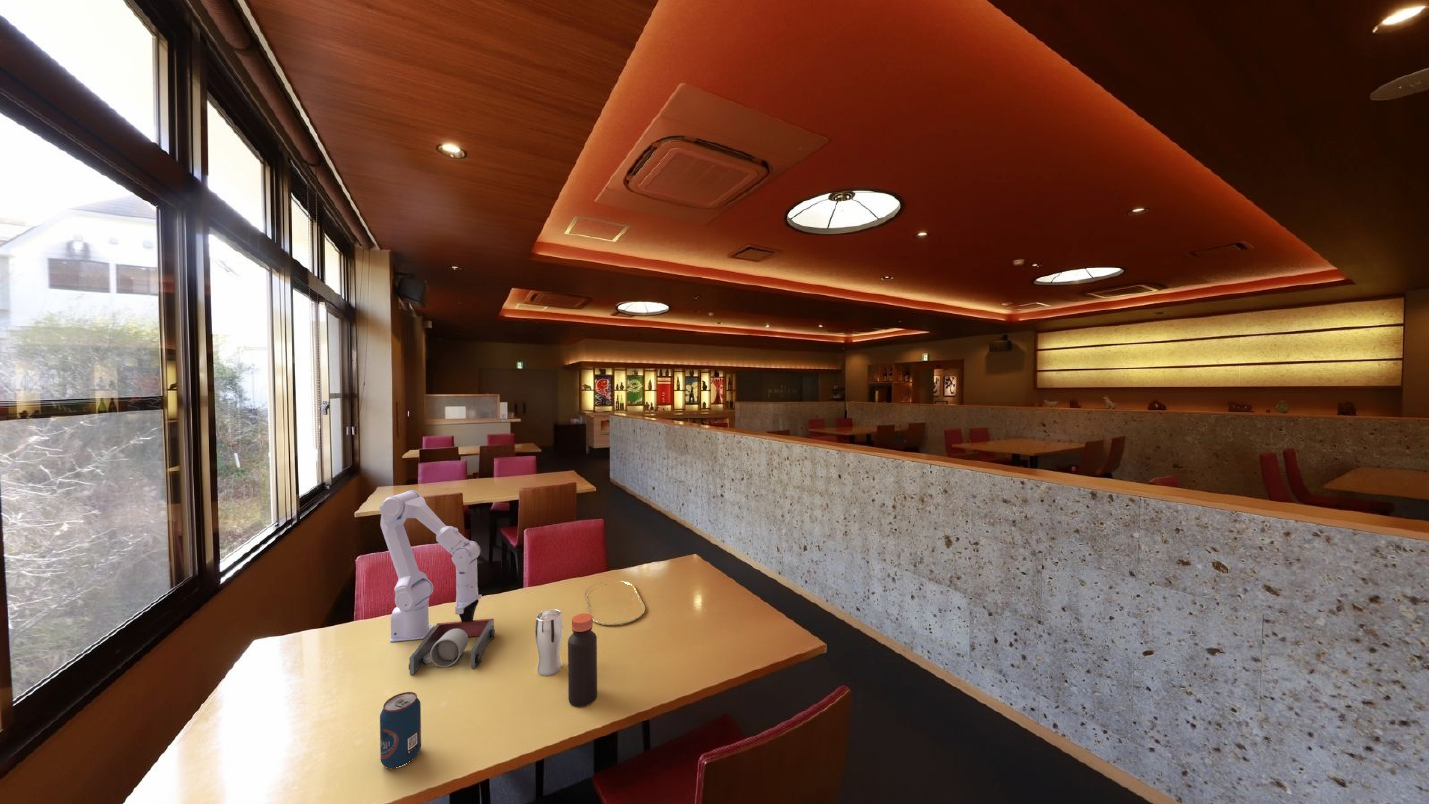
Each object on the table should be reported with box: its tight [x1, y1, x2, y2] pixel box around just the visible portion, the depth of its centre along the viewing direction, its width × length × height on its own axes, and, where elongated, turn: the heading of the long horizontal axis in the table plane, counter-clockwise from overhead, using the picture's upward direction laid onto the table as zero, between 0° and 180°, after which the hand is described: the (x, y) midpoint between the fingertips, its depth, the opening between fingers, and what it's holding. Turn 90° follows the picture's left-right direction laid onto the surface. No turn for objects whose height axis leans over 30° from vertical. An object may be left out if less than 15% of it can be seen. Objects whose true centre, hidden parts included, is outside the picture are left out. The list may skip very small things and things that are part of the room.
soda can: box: [379, 691, 422, 769], centre depth 95 cm, size 7×7×12 cm
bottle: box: [567, 612, 598, 708], centre depth 113 cm, size 7×7×20 cm
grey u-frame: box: [408, 617, 496, 675], centre depth 133 cm, size 18×18×4 cm
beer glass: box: [534, 608, 564, 677], centre depth 125 cm, size 7×7×15 cm
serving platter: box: [583, 579, 646, 627], centre depth 164 cm, size 19×35×2 cm, turn 21°
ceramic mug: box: [423, 628, 469, 668], centre depth 130 cm, size 11×8×8 cm
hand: (467, 626), depth 143 cm, fingers closed
